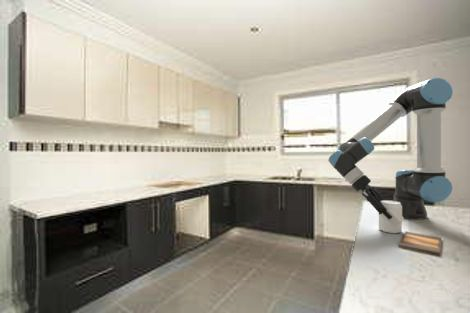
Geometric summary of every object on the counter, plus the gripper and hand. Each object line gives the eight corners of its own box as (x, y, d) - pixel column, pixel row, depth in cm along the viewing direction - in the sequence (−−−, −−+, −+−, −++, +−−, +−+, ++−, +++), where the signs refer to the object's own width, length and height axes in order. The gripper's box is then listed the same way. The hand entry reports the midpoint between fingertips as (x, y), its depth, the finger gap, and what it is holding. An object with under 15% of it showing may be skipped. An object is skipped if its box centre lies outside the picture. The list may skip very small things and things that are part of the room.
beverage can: (405, 234, 99) (406, 204, 99) (382, 233, 101) (383, 203, 100) (396, 228, 107) (397, 200, 106) (375, 227, 108) (376, 199, 108)
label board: (405, 233, 100) (405, 231, 100) (441, 240, 93) (441, 237, 93) (399, 247, 86) (399, 244, 86) (440, 256, 79) (440, 252, 79)
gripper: (357, 182, 121) (396, 221, 111) (343, 187, 105) (387, 234, 95) (369, 172, 117) (410, 212, 108) (357, 176, 102) (404, 223, 92)
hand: (399, 222), depth 101 cm, fingers closed on beverage can, 8 cm apart
